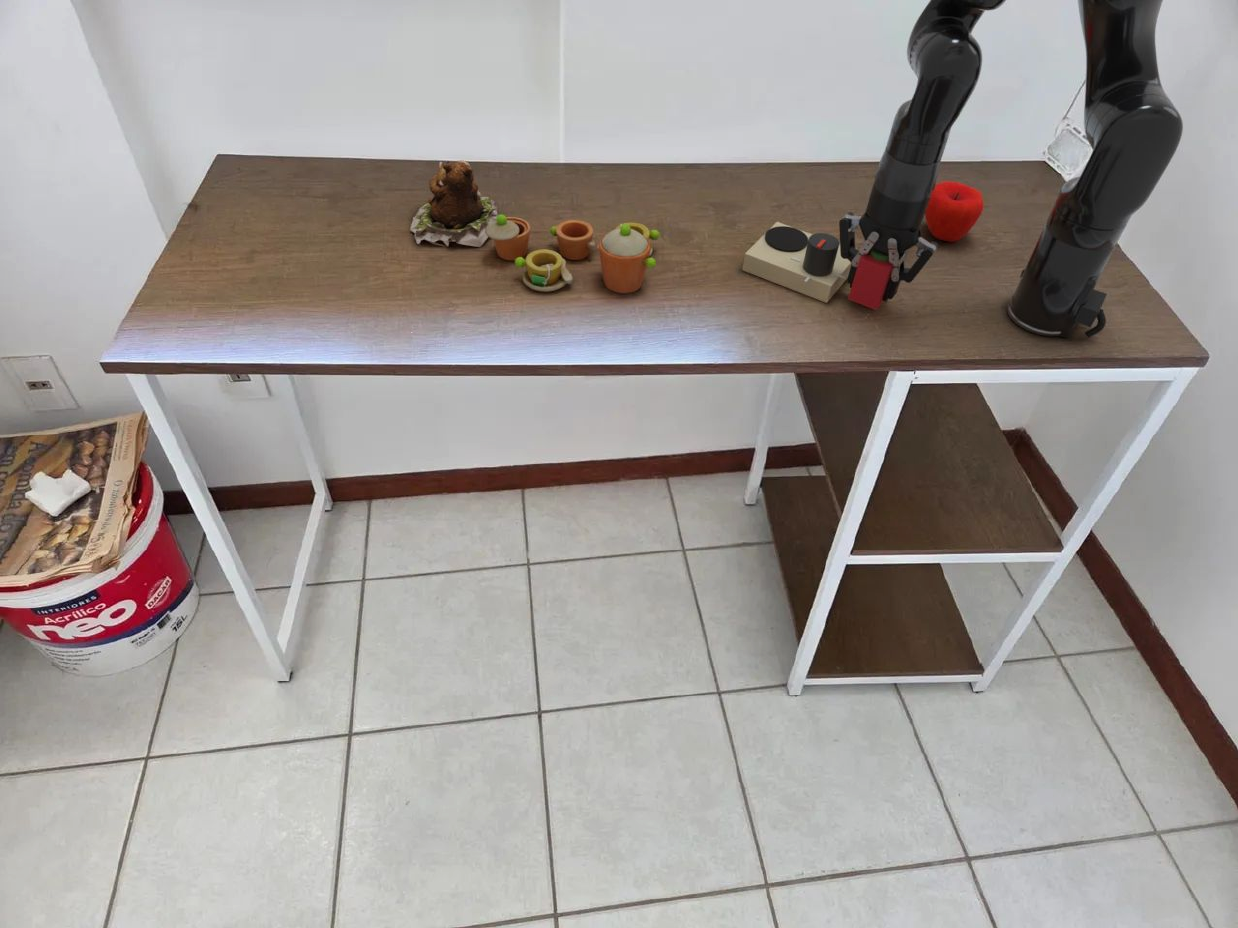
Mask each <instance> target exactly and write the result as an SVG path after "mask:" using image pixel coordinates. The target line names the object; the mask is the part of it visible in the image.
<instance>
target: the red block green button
mask: <svg viewBox="0 0 1238 928" xmlns="http://www.w3.org/2000/svg"><path fill="white" fill-rule="evenodd" d="M891 270H892V266H890V265H889V257H888V256H885V255H883V254H882V253H878V252H875V251H869V253H868V254H867V255H866V256H863V255H862V256H861V258H860V260H859V263H858V267H857V270H856V273H855V277H854V280H853V284H852V287H851V288H850V291H849V295H848V297H847V299H848V300H850V301H852V302H854V303H857V304H858V305H859V304H860V305H862V306H865V307H867V308H870V309H873V310H875V311H877V310H878V309H879V307H880V306H881V305H882V303H883V302H884V301H883V300H882V298H883V295H884V292H885V289H886V285H887V282H888V280H889V278H890V277H891V274H890V273H891Z"/></svg>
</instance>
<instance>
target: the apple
mask: <svg viewBox="0 0 1238 928" xmlns="http://www.w3.org/2000/svg"><path fill="white" fill-rule="evenodd" d="M984 206H985V204H984V198H983V195H982V192H981V191H979V189H976V188H975V187H972V186H969V185H966V184H963V183H962V182H961V183H960V182H958V181H947V180H946V181H941V182H938V183H936V185H935V188H934V190H933V191H932V194H931V197H930V200H929V203H928V206H927V209H926V212H925V215H924V217H925V221H926V225H927V228H928V230H929V232H930V233H931V235H932V236H933V237H934V238H936V239H937V240H939V241H944V242H950V243H954V242H957V241H959V240H960V239H962V238H963V237H965V236H966V235H967V234H968V233H969V232H970V230H971V229H972V228H973V227H974V226H975V224H976V223H977V222H978V220H979V218H980V216H981V215H982V213H983V211H984Z"/></svg>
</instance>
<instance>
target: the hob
mask: <svg viewBox="0 0 1238 928" xmlns="http://www.w3.org/2000/svg"><path fill="white" fill-rule="evenodd" d="M779 226H786V227H792V228H794V227H793V226H791V225H788V224H784V223H782V222H779V221H776V222H775V223H774V224H773V225H772V226H771V227H770V228H769V229H771V228H774V227H779ZM797 229H798V230H800V231H802V232H803V233H804V234H806V236H807V237H808V240H809V237H810V236H811V235H813V234H814V233H810V232H807V231H804V230H801V229H799V228H797ZM765 234H766V232H765V233H764V234H763V235H762V236H761V237H760V238H759V239H757V241H756V242H755V243H754V244H753V245H752V246H751V247H750V248H749V249H748V250H747V251H745V253H744V257H743V262H742V263H743V264H742V270H741V271H743V272H746V273H748V274H751V275H754V276H755V277H759V278H761V279H763V280H767V281H769V282H772V283H775V284H776V285H780V286H782V287H784V288H787V289H789V290H792V291H795V292H798V293H800V294H803V295H805V296H807V297H810V298H813V299H815V300H818V301H821V302H823V303H826V304H828V302H829V301H830V300H831V299H832V298H833V296H834V295H835V294H836V293H837V292H838V290H839V289H840V288H841V286H842V285H843V284H844V283H845V282H846V281H847V278H848V275H849V271H850V268H851V262H850V261H849V260H848V259H843V258H842V257H841V252H840V243H839V248H838V252H837V255H836V259H835V263H834V267H833V271H832V273H831V274H829V275H827V276H814V275H811V274H809V273H807V272H806V271H805V270H804V269H803V262H804V257H805V253H806V249H807V247H806V248H805V249H803V250H801V251H798V252H783V251H779V250H776V249H774V248H772V247H770V246H769V245H768V244H767V243H766V241H765Z"/></svg>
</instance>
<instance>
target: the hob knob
mask: <svg viewBox="0 0 1238 928" xmlns="http://www.w3.org/2000/svg"><path fill="white" fill-rule="evenodd" d="M812 234H813V235H811V236H810V237H809V240H808V244H807V249H806V253H805V257H804V262H803V269H804V270H805V271H806V272H807V273H809V274H811V275H814V276H827V275H829V274H831V273H832V271H833V267H834V263H835V259H836V255H837V252H838V248H839V244H840V240H839V239H838V238H837V237H836V236H835V235H832V234H830V233H826V232H825V233H824V232H816V233H812Z"/></svg>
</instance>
